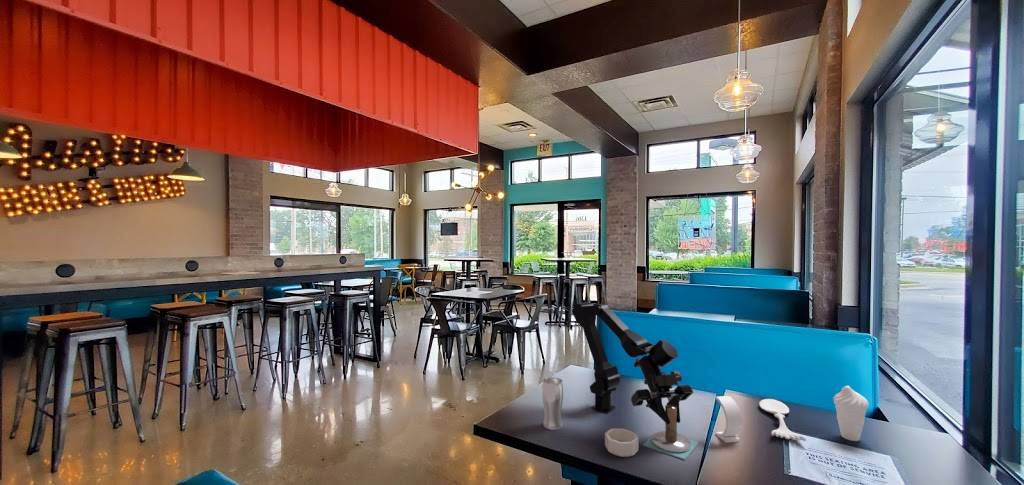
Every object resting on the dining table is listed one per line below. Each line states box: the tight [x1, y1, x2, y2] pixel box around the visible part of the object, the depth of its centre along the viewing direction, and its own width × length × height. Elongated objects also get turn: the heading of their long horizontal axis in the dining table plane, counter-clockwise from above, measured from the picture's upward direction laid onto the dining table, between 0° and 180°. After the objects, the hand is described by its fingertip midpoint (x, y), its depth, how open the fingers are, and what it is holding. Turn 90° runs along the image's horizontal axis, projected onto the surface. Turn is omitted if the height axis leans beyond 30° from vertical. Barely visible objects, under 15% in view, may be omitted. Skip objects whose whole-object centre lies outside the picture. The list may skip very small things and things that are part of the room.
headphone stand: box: [715, 395, 743, 443], centre depth 125 cm, size 5×6×12 cm
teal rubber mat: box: [643, 429, 699, 461], centre depth 122 cm, size 12×12×1 cm
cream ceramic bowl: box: [604, 427, 640, 458], centre depth 119 cm, size 9×9×4 cm
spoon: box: [758, 398, 807, 442], centre depth 135 cm, size 9×32×4 cm, turn 155°
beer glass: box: [541, 376, 564, 431], centre depth 134 cm, size 7×7×15 cm
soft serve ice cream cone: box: [832, 385, 869, 442], centre depth 125 cm, size 8×8×16 cm
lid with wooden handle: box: [651, 404, 691, 453], centre depth 122 cm, size 11×11×11 cm
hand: (673, 423), depth 120 cm, fingers closed on lid with wooden handle, 3 cm apart
